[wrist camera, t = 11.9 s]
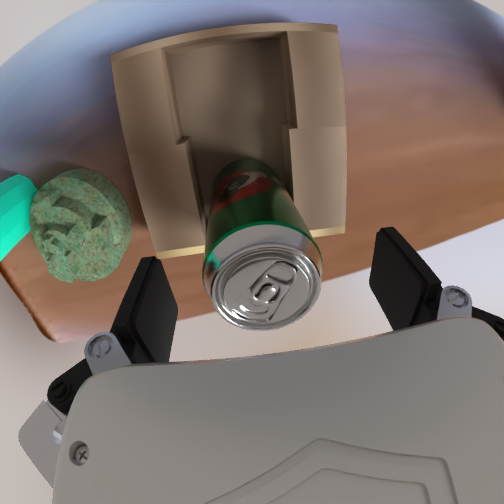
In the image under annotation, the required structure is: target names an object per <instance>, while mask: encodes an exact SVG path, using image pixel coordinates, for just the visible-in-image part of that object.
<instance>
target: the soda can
mask: <svg viewBox="0 0 504 504" xmlns="http://www.w3.org/2000/svg"><path fill="white" fill-rule="evenodd" d="M322 271H323V260H322V256H321V252H320V250H319V248H318V246H317V244H316V242H315V240H314V239H313V237H312V235H311V233H310V231H309V229H308V228H307V226H306V224H305V222H304V220H303V219H302V217H301V215H300V213H299V211H298V210H297V208H296V206H295V204H294V203H293V201H292V199H291V197H290V196H289V194H288V192H287V191H286V189H285V187H284V185H283V184H282V182H281V180H280V179H279V177H278V175H277V174H276V172H275V171H274V170H273V169H272V168H271V167H270V166H269V165H267V164H266V163H264V162H262V161H260V160H256V159H240V160H236V161H233V162H231V163H230V164H228V165H226V166H225V167H224V168H223V169H222V170H221V171H220V172H219V174H218V175H217V177H216V179H215V181H214V185H213V191H212V197H211V204H210V212H209V219H208V226H207V234H206V242H205V250H204V259H203V268H202V279H203V285H204V287H205V290H206V292H207V294H208V296H209V297H210V299H211V300H212V303H213V305H214V308H215V309H216V311H217V312H218V313H219V314H220V316H222V318H223V319H225V320H226V321H227V322H229V323H231V324H233V325H235V326H237V327H240V328H243V329H247V330H255V331H266V330H274V329H278V328H282V327H284V326H287V325H289V324H292V323H294V322H295V321H297V320H299V319H300V318H302V317H303V316H304V315H305V314H306V313H307V312H309V310H310V309H311V308H312V307H313V306H314V304H315V302H316V301H317V299H318V296H319V293H320V289H321V277H322Z"/></svg>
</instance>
